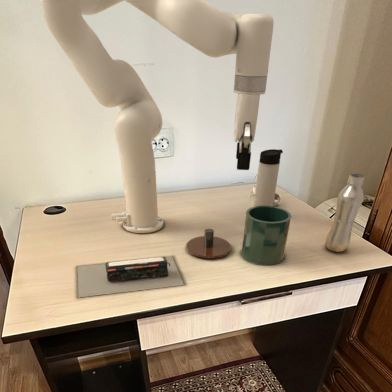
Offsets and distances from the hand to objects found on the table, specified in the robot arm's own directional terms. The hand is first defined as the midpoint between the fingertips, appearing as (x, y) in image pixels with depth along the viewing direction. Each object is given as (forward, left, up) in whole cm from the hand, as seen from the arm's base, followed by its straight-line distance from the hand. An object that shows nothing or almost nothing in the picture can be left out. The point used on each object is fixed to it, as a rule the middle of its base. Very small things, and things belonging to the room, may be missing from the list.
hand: (242, 164), depth 97 cm
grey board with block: (-34, -17, -20) cm, 43 cm away
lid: (-10, -7, -20) cm, 23 cm away
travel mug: (+14, +13, -20) cm, 28 cm away
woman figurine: (+20, +27, -20) cm, 39 cm away
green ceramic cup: (+4, -13, -20) cm, 24 cm away
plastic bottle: (+26, -14, -20) cm, 36 cm away
